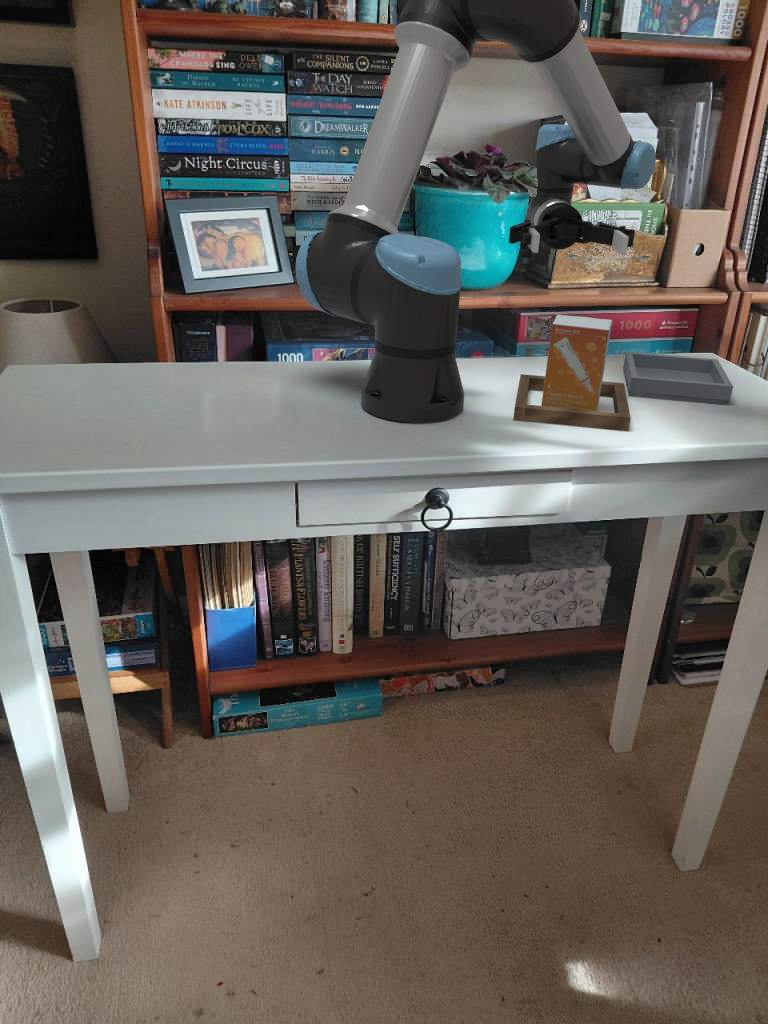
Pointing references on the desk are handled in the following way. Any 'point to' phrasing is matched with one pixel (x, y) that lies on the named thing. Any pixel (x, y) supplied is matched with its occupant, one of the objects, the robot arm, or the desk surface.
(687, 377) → the slate tray
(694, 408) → the desk surface
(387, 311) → the robot arm
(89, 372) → the desk surface
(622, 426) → the walnut frame
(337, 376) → the desk surface
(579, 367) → the small box
